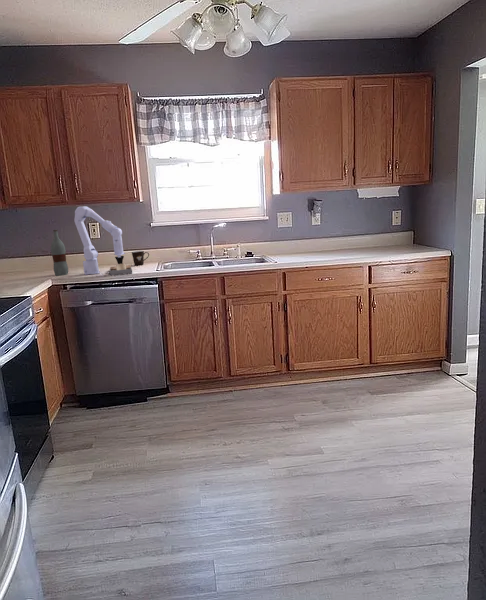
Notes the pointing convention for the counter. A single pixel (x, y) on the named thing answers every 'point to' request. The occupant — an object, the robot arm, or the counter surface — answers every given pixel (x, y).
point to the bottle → (59, 256)
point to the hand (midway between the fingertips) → (120, 267)
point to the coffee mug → (139, 257)
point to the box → (120, 272)
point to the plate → (116, 269)
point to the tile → (121, 266)
